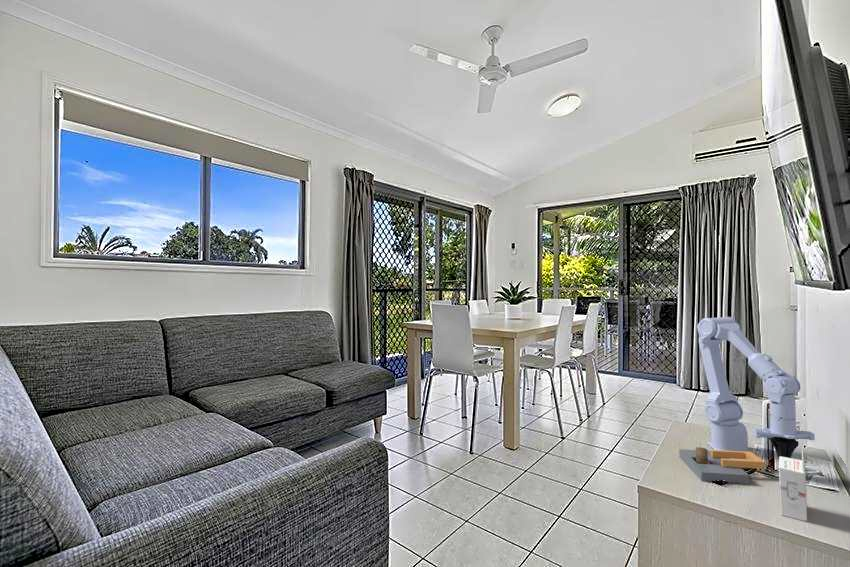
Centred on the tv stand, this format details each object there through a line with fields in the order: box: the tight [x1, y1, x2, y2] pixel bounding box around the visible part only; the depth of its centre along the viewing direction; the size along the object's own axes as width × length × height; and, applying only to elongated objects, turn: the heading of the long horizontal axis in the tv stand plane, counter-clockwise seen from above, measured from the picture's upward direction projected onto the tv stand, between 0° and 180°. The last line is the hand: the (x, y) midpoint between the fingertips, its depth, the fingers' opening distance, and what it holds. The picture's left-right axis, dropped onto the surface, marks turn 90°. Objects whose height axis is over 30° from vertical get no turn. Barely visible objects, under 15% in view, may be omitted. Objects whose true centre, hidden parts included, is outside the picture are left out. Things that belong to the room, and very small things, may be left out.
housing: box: [678, 449, 750, 485], centre depth 124 cm, size 12×16×2 cm
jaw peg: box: [695, 446, 709, 464], centre depth 125 cm, size 3×3×6 cm
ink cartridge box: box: [778, 449, 808, 522], centre depth 102 cm, size 9×5×15 cm, turn 139°
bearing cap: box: [710, 449, 766, 470], centre depth 123 cm, size 11×7×2 cm, turn 78°
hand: (783, 462), depth 120 cm, fingers closed
